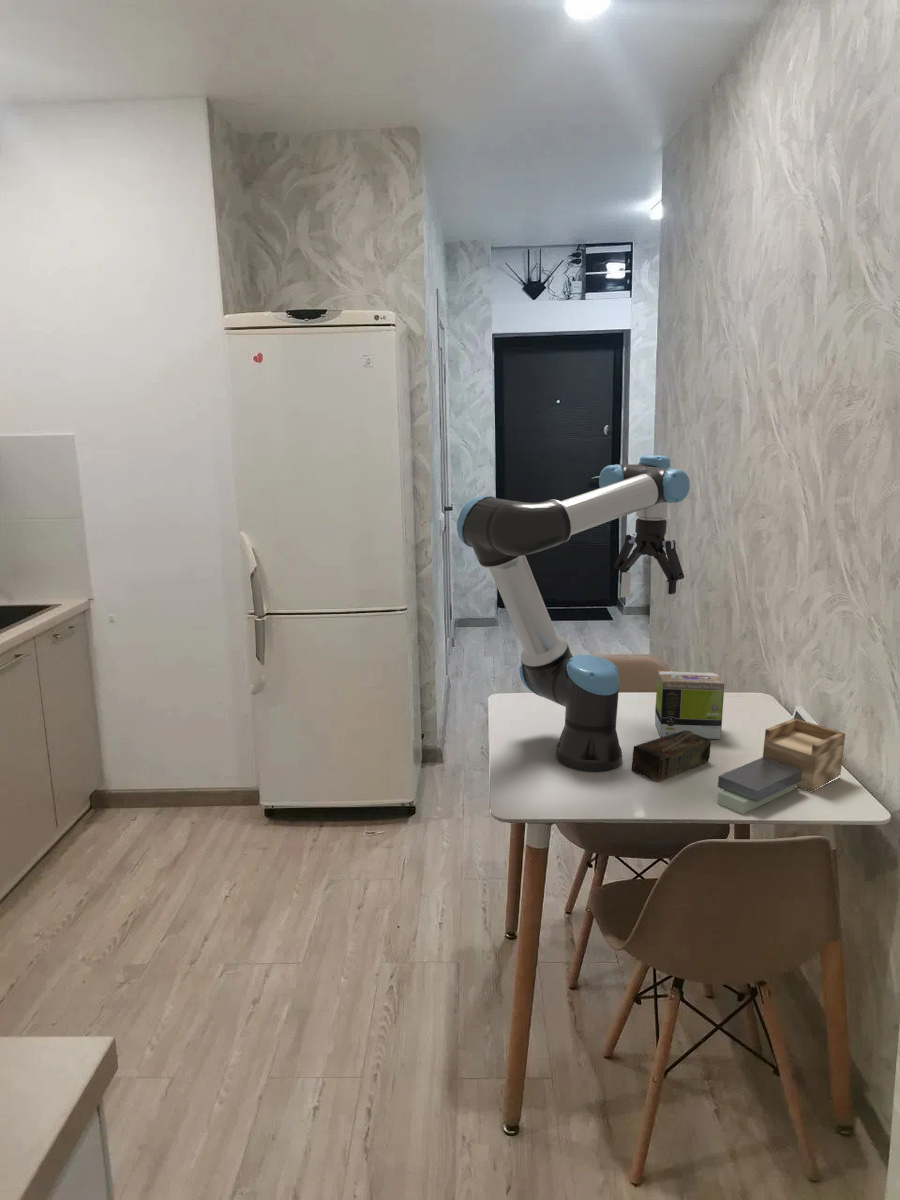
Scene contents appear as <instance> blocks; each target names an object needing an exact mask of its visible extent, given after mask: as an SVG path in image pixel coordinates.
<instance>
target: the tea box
mask: <svg viewBox="0 0 900 1200" xmlns="http://www.w3.org/2000/svg"><path fill="white" fill-rule="evenodd" d="M656 675H657V677H656V691H655V692H656V694H655V711H654V714H655V715H654V723H655V726H656V729H657V731H658V734H659V738H661V737H665V736H668V735H671V734H675V733H679V732H682V731H685V730H686V731H692V732H693V733H694V734H697V735H699V736H702V737H705V738H707V739H709V740H721V738H722V729H723V728H722V724H723V713H724V710H723V709H724V698H725V697H724V696H725V683H724V682H723V681H722V678H720V676H719V675H718V674H717V672H713V671H711V672H709V671H678V670H677V671H676V670H675V671H673V670H670V671H669V670H657V674H656Z"/></svg>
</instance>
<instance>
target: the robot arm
mask: <svg viewBox="0 0 900 1200" xmlns="http://www.w3.org/2000/svg"><path fill="white" fill-rule="evenodd" d="M598 479H599V482H598V484H599V485H598V487H599V488H597V489H594V490H590V491H587V492H584V493H582V494H578V495H576V496H572V497H570V498H567V499H563V500H557V499H555V498H554V499H548V500H545V501H541V502H525V501H524V502H523V501H517V500H516V501H515V500H509V499H503V498H497V497H495V496H490V495H489V496H488V495H487V496H476V497H474V498H472V499H470V500H469V501H467V502H466V503H465V504H464V506H463V507H462V508H461V510H460V511H459V515H458V518H457V522H456V531H457V535H458V537H459V539H460V541H461V542H462V543H463V544H465V546H467V547H469V548H472V549H473V551H474V553H475V556H476V558H477V561H478V563H479V565H480V566H481V567H483V568H486V569H489V571H490V574H491V576H492V578H493V581H494V583H495V585H496V587H497V590H498V592H499V594H500V597H501V599H502V601H503V605H504V606H505V609H506V611H507V613H508V616H509V619H510V621H511V623H512V625H513V627H514V630H515V632H516V635H517V636H518V639H519V641H520V642H519V643H520V644H521V647H522V651H521V653H520V664H521V666H519V669H518V670H519V677H520V680H521V682H522V684H523V685H524V686H525V687H526V689H528V690H529V691H531V693H533V694H534V695H537V696H539V697H543V698H544V699H547V700H549V701H551V702H554V703H555V704H558V705H560V706H562V707H565V711H564V712H565V713H564V715H565V716H564V717H565V719H564V725H563V728H562V732H561V734H560V737H559V740H558V741H557V745H556V747H555V758H556V760H557V761H558V762H559V763H560V764H562V765H563V766H566V767H567V768H571V769H574V770H580V771H585V772H602V771H603V772H605V771H610V770H614V769H616V768H617V767H619V766H620V765H621V764H622V761H623V749H622V747H621V746H620V741H619V737H618V733H617V718H618V717H617V715H618V705H619V704H618V703H619V691H620V679H619V677H620V675H619V674H620V673H619V669H618V667H617V666H616V665H615V663H613V662H612V661H610V660H609V659H607V658H606V657H605V658H604V657H602V656H597V655H596V656H594V655H591V654H578V655H573V653H572V652H571V649H570V647H569V644H568V641H567V640H566V639H565V638H564V637H563V636H560V635H558V633H557V632H556V629H555V627H554V624H553V622H552V619H551V617H550V614H549V612H548V609H547V606H546V605H545V602H544V599H543V596H542V594H541V592H540V589H539V587H538V584H537V582H536V579H535V577H534V575H533V572H532V569H531V567H530V564H529V562H528V560H527V555H531V554H532V555H533V554H535V553H538V552H542V551H545V550H549V549H550V548H554V547H556V546H559V545H561V544H564V543H567V542H568V541H569V540H570V538H571V536H573V535H575V534H576V535H577V534H578V533H580V532H581V533H582V532H584V531H587V530H589V529H592V528H594V527H597V526H599V525H602V524H605V523H607V522H611V521H613V520H616V519H619V518H622V517H624V516H627V515H630V514H631V515H632V514H633V513H636V515H635V516H636V517H638V518H636V519H635V529H634V530H635V531H634V532H635V533H636V534H635V533H631V534H630V533H629V534H625V537H624V538H625V539H624V543H623V546H622V547H621V549H620V552H619V554H618V556H617V558H616V560H615V562H614V564H613V568H614V569H617V570H619V584H620V598H622V599H623V598H628V597H630V596H631V582H632V581H631V580H632V578H631V577H632V571H631V570H630V569H631V568H632V566H634V564H635V563H636V562H637V561H638V559H639V558H640V557H641V556H646V555H647V556H649V557H653V558H654V559H655V560H656V561H657V563H658V564H659V567H660V568H661V570H662V571H663V574H664V575H665V577H666V579H667V580H665V581H664V590H663V592H664V593H663V604H662V607H663V608H669V607H673V603H674V602H673V601H674V595H675V594H676V592H677V582H678V581H679V580H683V579H685V575H684V574H685V573H684V571H683V568H682V565H681V562H680V559H679V556H678V553H677V549H676V540H674V539H672V540H671V539H670V540H665V535H666V533H667V525H668V524H667V523H668V522H667V520H666V518H667V517H668V510H669V508H668V506H669V504H673V503H675V504H677V503H681V502H682V501H684V500H685V499H686V497H688V494H689V493H690V488H691V485H690V477H689V475H688V474H687V473H686V472H685V471H684V470H682V469H677V468H673V467H671V458H670V457H669V456H666V455H658V454H657V455H655V454H654V455H653V454H648V455H647V454H646V455H641V456H640V458H639V462H638V464H617V463H616V464H609V465H606V466H605V467H604V468H603V469H602V470H601V471H600V474H599V478H598ZM635 545H636V546H635ZM634 546H635V548H634ZM633 548H634V549H633Z"/></svg>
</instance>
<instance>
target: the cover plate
mask: <svg viewBox="0 0 900 1200" xmlns="http://www.w3.org/2000/svg"><path fill="white" fill-rule="evenodd" d="M801 777H802V770H800V769H797V768H795V767H792V766H789V765H786V764H783V763H780V762H777V761H775V760H772V759H769V758H766V757H763V756H762V757H759V758H758V759H755V760H753V761H751V762H748V763H746V764H744V765H742V766H739V767H737V768H734V769H732V770H730V771H728V772H727V771H726V772H725V773H722V774H720V775H718V778H717V779H718V781H717V788H719V789H721V790H726V791H729V792H731V793H734V794H736V795H739V796H741V797H744V798H746V799H749V800H751V801H754V802H758V801H761V800H763V799H765V798H767V797H769V796H771V795H773V794H775V793H777V792H779V791H781V790H784V789H786V788H788V787H790V786H792V785H794V784H796V783H798V782H800V781H801Z"/></svg>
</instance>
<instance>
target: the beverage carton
mask: <svg viewBox="0 0 900 1200" xmlns="http://www.w3.org/2000/svg"><path fill="white" fill-rule="evenodd" d="M711 745H712V739H707V738H705V737H702V736H699V735H697V734H694V733H693V732H692V731H686V730H685V731H682V732H679V733H675V734H671V735H668V736H665V737H659V738H658V737H657V738H655V739H652V740H649V741H645V742H642V743H640V744H637V745H633V748H632V749H633V750H632V757H631V758H632V759H631V769H630V770H631V771H633V772H634V773H636V774H639V775H641V776H643V777H645V778H647V779H650V780H652V781H653V782H655V783H657V782H660V781H662V780H665V779H668V778H671V777H675V776H676V775H678V774H681V773H684V772H687V771H689V770H692V769H693V770H694V769H695V768H697V767H700V766H702V765H705V764H708V763H709V760H710V757H711Z"/></svg>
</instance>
